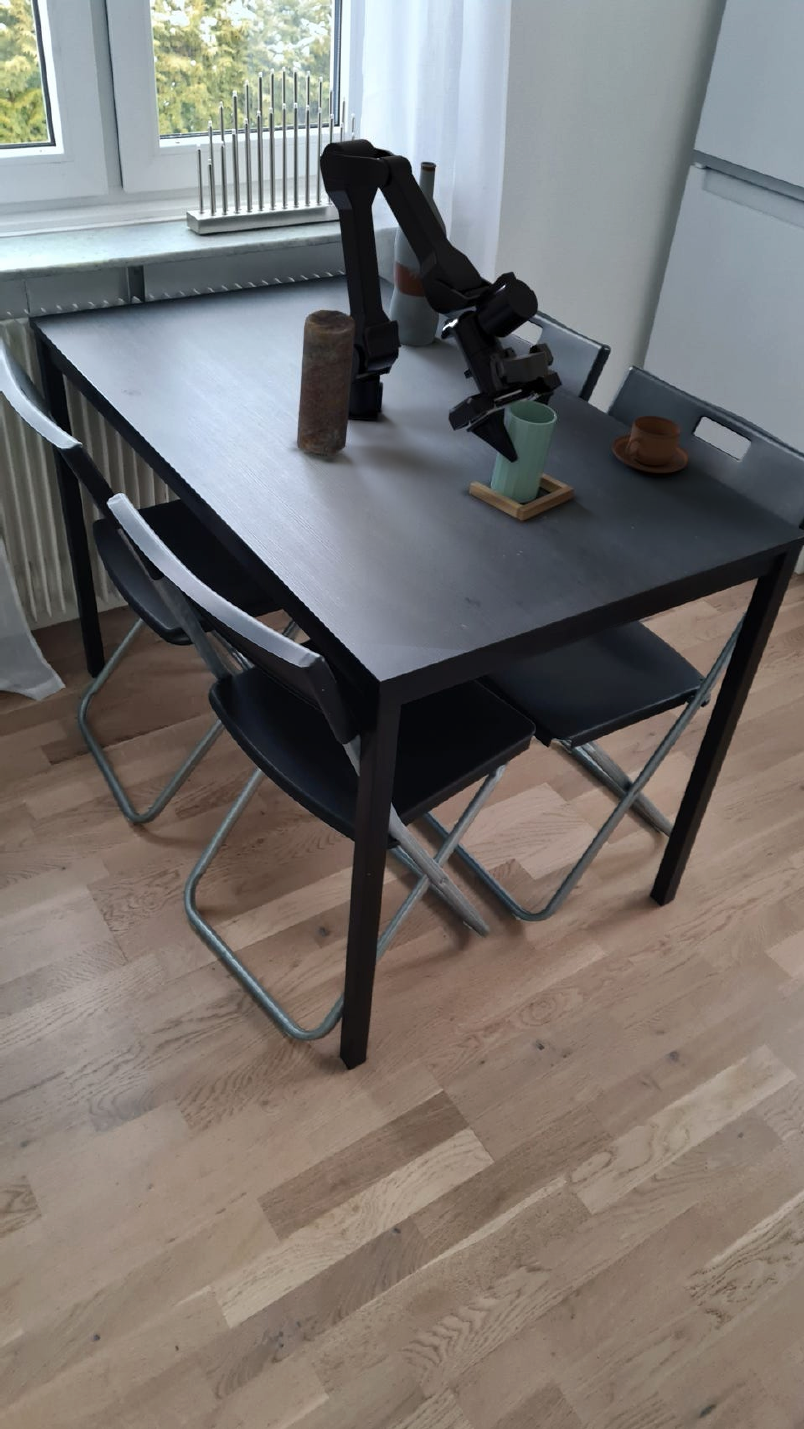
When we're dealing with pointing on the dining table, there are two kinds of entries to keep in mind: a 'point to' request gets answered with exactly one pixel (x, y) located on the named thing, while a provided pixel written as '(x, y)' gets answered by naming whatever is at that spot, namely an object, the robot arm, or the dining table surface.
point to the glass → (524, 450)
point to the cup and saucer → (652, 446)
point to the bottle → (414, 279)
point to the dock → (522, 512)
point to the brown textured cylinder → (325, 382)
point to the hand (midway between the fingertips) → (531, 454)
